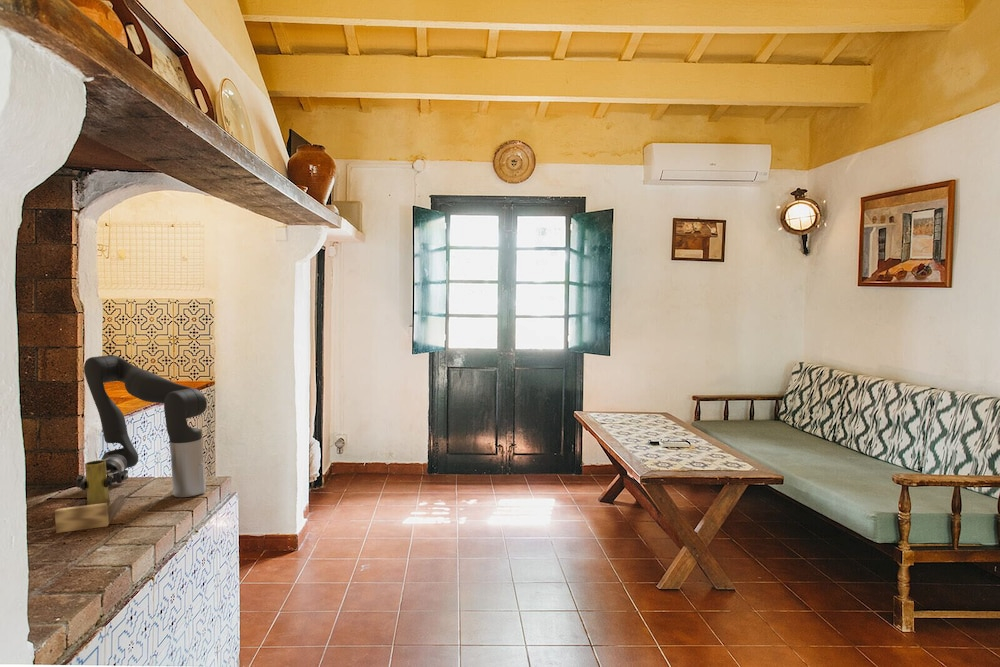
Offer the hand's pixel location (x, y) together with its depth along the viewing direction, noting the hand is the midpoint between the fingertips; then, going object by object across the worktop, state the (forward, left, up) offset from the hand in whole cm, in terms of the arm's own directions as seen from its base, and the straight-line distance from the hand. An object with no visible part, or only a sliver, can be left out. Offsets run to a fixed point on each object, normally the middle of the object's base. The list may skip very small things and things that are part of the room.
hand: (94, 485), depth 190 cm
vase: (0, -3, -8) cm, 9 cm away
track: (0, +4, -8) cm, 9 cm away
